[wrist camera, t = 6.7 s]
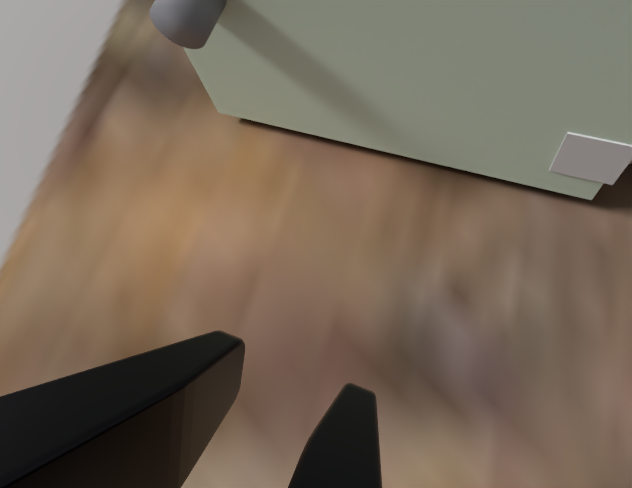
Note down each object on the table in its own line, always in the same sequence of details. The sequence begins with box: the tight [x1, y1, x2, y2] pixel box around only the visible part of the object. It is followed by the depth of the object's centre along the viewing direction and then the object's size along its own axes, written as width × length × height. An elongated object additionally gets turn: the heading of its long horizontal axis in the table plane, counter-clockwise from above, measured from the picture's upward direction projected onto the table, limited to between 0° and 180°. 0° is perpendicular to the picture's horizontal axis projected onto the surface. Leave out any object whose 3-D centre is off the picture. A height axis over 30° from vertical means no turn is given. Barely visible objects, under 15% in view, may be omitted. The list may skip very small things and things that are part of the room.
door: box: [150, 0, 632, 200], centre depth 12 cm, size 3×12×10 cm, turn 70°
